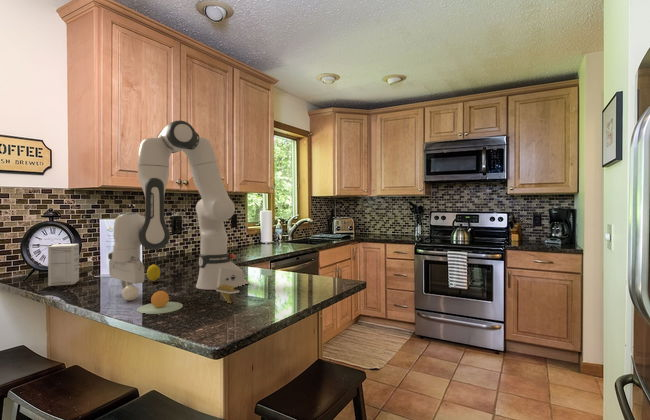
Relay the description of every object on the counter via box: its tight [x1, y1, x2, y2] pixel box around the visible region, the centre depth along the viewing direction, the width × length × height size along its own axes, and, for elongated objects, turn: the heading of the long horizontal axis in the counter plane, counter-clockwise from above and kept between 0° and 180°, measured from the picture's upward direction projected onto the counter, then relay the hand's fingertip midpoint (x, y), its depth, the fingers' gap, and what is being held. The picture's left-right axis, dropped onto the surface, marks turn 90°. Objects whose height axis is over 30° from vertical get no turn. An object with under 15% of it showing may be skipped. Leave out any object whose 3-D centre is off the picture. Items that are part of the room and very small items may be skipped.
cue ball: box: [121, 284, 140, 302], centre depth 128 cm, size 6×6×6 cm
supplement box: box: [47, 243, 80, 287], centre depth 154 cm, size 10×9×17 cm
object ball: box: [150, 290, 170, 308], centre depth 120 cm, size 6×6×6 cm
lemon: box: [146, 263, 161, 283], centre depth 160 cm, size 6×6×8 cm
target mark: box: [136, 301, 184, 315], centre depth 119 cm, size 14×14×1 cm
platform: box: [215, 284, 240, 304], centre depth 127 cm, size 12×18×7 cm, turn 59°
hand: (126, 292), depth 133 cm, fingers closed
